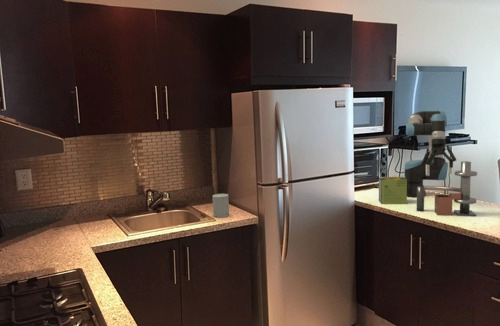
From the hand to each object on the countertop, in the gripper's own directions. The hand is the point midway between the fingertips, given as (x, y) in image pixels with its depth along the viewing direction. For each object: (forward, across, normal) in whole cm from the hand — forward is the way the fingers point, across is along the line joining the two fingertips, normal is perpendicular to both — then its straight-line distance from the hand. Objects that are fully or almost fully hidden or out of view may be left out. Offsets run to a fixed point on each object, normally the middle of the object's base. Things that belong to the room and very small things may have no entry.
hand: (438, 174), depth 249 cm
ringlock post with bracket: (+23, +10, 0) cm, 25 cm away
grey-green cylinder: (+35, -82, -94) cm, 130 cm away
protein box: (+15, -30, -1) cm, 34 cm away
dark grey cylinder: (+22, -7, -7) cm, 24 cm away
